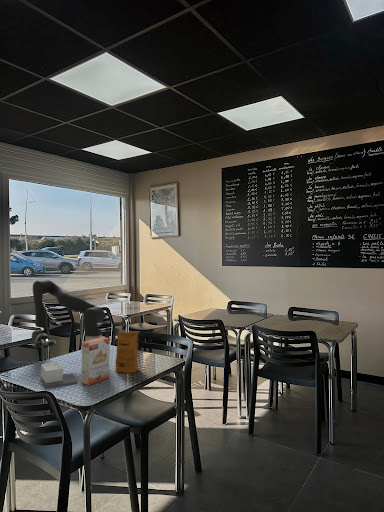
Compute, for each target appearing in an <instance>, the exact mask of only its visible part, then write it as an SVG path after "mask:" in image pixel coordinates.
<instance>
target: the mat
mask: <svg viewBox="0 0 384 512" xmlns="http://www.w3.org/2000/svg"><path fill="white" fill-rule="evenodd" d="M41 380H42V383H43V387H44V389H50V388H55V387H57V388H58V387H62V386H64V387H65V386H70V385H77V384H78V380H77V378H76V377H75V375H74V373H73V372H71V373H63V381H58V382H52V383H45V381H44V380H43V379H42V378H41Z"/></svg>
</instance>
